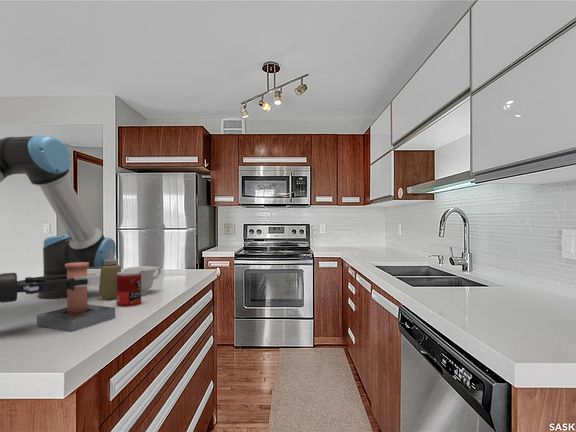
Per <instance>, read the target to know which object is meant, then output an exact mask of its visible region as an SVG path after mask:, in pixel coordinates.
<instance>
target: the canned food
mask: <svg viewBox="0 0 576 432" xmlns="http://www.w3.org/2000/svg"><path fill="white" fill-rule="evenodd" d="M116 303H117V306H118V307H134V306H137V305H140V304H141V303H142V295H141V272H140V271H124V270H122V271H121V272H118V273H117V299H116Z"/></svg>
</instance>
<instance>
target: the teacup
mask: <svg viewBox="0 0 576 432" xmlns="http://www.w3.org/2000/svg"><path fill="white" fill-rule="evenodd" d="M157 270H158V272H157V274H156V275H155V273H156V271H157ZM122 271H140V272H141V296H143V295H147V294H148V293H149V291H148V290H151V288H152V286H153V282H154V280H156V279H157V278H159V277H160V276H161V274H162V269H161V267H160V266H150V265H147V266H146V265H144V266H143V265H142V266H130V267H125V268H123V270H122ZM154 275H155V276H154Z"/></svg>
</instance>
